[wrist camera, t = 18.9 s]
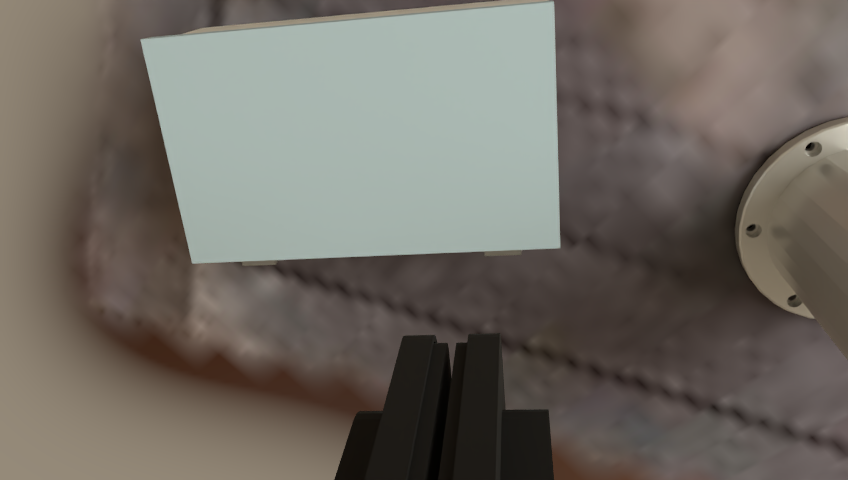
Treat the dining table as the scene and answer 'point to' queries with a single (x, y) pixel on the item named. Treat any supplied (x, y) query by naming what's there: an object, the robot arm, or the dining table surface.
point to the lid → (363, 134)
